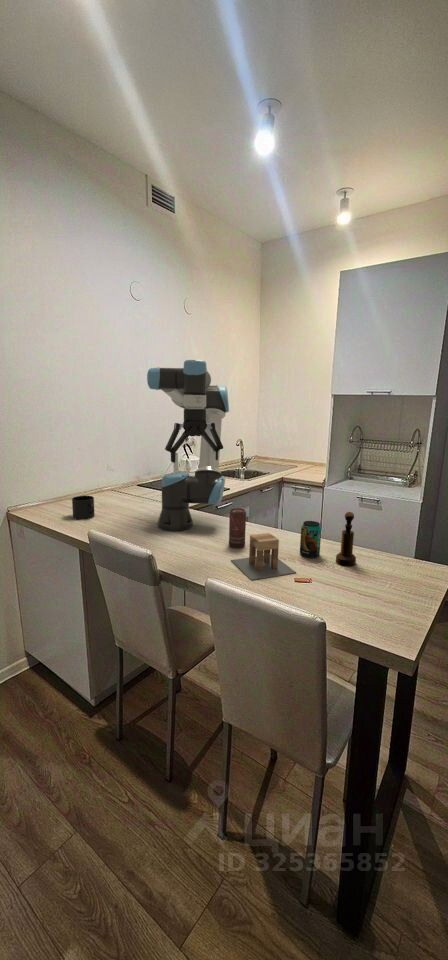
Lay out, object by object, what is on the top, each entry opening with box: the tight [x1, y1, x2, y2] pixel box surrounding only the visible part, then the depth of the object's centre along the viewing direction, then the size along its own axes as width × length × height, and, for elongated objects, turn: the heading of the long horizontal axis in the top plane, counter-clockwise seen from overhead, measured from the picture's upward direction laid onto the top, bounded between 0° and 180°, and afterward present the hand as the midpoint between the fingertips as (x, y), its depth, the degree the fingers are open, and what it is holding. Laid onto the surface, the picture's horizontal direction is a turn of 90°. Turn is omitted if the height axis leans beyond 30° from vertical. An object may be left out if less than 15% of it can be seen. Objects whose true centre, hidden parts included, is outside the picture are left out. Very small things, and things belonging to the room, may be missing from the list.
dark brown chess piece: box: [335, 511, 357, 567], centre depth 134 cm, size 7×6×18 cm
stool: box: [248, 532, 280, 571], centre depth 130 cm, size 7×7×10 cm
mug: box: [71, 495, 96, 520], centre depth 181 cm, size 9×12×9 cm
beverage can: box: [299, 520, 322, 559], centre depth 141 cm, size 7×7×12 cm
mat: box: [230, 554, 297, 581], centre depth 131 cm, size 16×16×1 cm
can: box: [228, 508, 247, 549], centre depth 149 cm, size 6×6×14 cm
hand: (194, 470), depth 136 cm, fingers open, 13 cm apart
